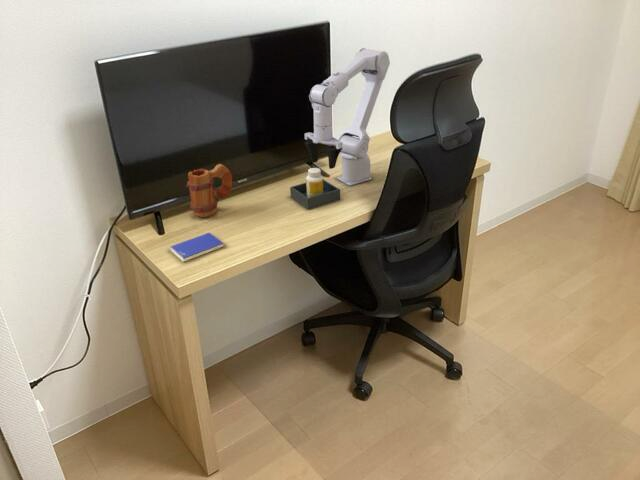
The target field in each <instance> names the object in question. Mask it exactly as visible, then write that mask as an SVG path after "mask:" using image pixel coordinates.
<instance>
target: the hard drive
mask: <svg viewBox="0 0 640 480" xmlns="http://www.w3.org/2000/svg"><path fill="white" fill-rule="evenodd" d="M223 247H224V243H223V242H222V241H221V240H220V239H219V238H217V237H216V236H214V235H213V234H212V232H207V233H204V234H201V235H198V236H195V237H193V238H190V239H187V240H185V241H181V242H179V243H176V244H173V245H171V246H169V249H170V252H171V253H172V254H174V255H175V256H176V257H177V258H178V259H180V260H181V261H182V262H187V261H189V260H193V259H195V258H197V257H201V256H203V255H205V254H207V253H211V252H212V251H215V250H218V249H220V248H223Z"/></svg>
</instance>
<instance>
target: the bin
mask: <svg viewBox="0 0 640 480" xmlns="http://www.w3.org/2000/svg"><path fill="white" fill-rule="evenodd" d="M289 191H290V192H289V193H290V198H291V199H292V200H294V201H295V202H297V203H298V204H299V205H301V206H302V207H304V208H305V209H307V210H312V209H315V208H318V207H322V206H325V205H328V204H331V203H334V202H337V201H340V200H341V189H340V188H338V187H336V186H335V185H333V184H332V183H330V182H328V181H327V180H325V179H324V178H323V194H320V195H317V196H314V197H311V198H307V186H306V182H303V183H299V184H296V185H293V186H290V187H289Z"/></svg>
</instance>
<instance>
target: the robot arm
mask: <svg viewBox="0 0 640 480" xmlns="http://www.w3.org/2000/svg"><path fill="white" fill-rule="evenodd" d="M390 64H391V61H390V56H389V53H388V52H386V51H384V50H383V51H380V50H374V49H367V48H366V47H363V48H360V49H359V50H358V51H357V52H355V53H354V57H353V59H352V60H351V61H350V62H349V63H348V64H347V65H346V66H345V67H344V69H342V71H340V70H337V71H333V72H332V74H331V75H330V76H328V78H326V79H324V80H323V81H322V83H319V84H315V85H314V86H312V88H311V89H310V92H309V94H308V98H309V102H310V103H311V108H312V109H313V132H305V133H304V140H306V141H304V146H305V148H306V149H307V151H308V154H309V157H310V160H311V163H312V164H315V163H318V162H319V149H320V144H321V145H326V146H329V147H327V148H325V152H326V154H327V159H328V168H329V169H331V170H332V169H334V168H336V164H337V161H338V159H339V155H340V156H341V175H338V176H337V177H336V179H337V180H339V181H340V182H342V183H344V184H346V185H347V186H349V187H351V186H354V185H357V184H360V183H364V182H368V181H371V180H372V177H371V158H370V156H369V154H368V151H369V143H370V140H371V137H370V136H369V134H368V133H367V127H368V125H369V122H370V119H371V116H372V113H373V111H374V109H375V105H376V102H377V99H378V96H379V93H380V91H381V88H382V85H383V82H384V80H385V78H386V76H387V73H388V71H389V67H390ZM359 73H360V74H361V75H362V76H363V77H364V79H365V83H364V86H363V89H362V91H361V95H360V97H359V100H358V103H357V106H356V109H355V111H354V114H353V117H352V120H351V123H350V125H348V126H347V127H345V128H344V129H342V132H341V134H340V135H339V137H338V138H336V137H334V136H333V105H334V104H335V102H336V100H337V97H338V96H339V94H340V93H341V92H343V91H344V90H345V89H346V88H347V87H348V86H349V83H350V82H349V81H350V80H351V79H352V78H353V77H355V76H357V75H358V74H359Z"/></svg>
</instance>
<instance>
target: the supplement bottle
mask: <svg viewBox="0 0 640 480" xmlns="http://www.w3.org/2000/svg"><path fill="white" fill-rule="evenodd" d="M323 179H324V177H323V175H322V172H321V169H320V168H319V167H311V168H309V169H308V170H307V176H306V177H305V183H306V186H307V198H311V197H314V196H317V195H320V194H323Z"/></svg>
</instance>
